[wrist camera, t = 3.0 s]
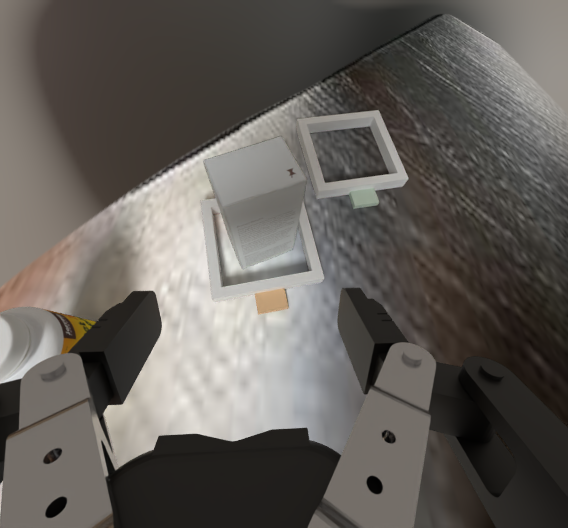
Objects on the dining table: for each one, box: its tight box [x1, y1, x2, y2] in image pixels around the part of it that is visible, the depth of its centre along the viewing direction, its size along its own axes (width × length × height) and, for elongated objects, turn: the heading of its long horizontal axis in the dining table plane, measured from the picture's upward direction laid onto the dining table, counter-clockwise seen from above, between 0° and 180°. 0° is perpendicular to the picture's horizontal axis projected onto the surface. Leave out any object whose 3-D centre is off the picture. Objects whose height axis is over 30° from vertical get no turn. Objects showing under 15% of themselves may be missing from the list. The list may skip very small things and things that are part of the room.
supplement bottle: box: [0, 307, 96, 384], centre depth 19 cm, size 6×6×10 cm
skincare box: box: [203, 136, 307, 269], centre depth 23 cm, size 6×4×12 cm
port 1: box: [200, 198, 324, 315], centre depth 28 cm, size 11×13×2 cm
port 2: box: [296, 110, 409, 209], centre depth 32 cm, size 11×13×2 cm
